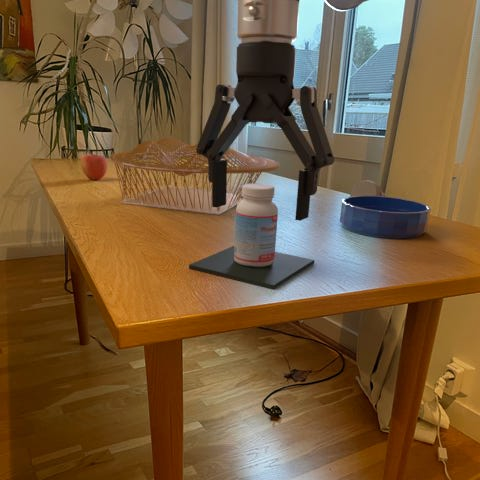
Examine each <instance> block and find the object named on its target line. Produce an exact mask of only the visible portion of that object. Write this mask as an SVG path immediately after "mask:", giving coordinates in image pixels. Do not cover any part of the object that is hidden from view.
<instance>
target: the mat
mask: <svg viewBox="0 0 480 480" xmlns="http://www.w3.org/2000/svg"><path fill="white" fill-rule="evenodd" d="M234 247H235V245H232V246H230V247H228V248H225V249H223V250H220V251H218V252H215V253H213V254H211V255H209V256H206V257H204V258H202V259H199V260H196V261H194V262H192V263H189V264H188V269H190V270H195V271H198V272H203V273H207V274H209V275H210V274H211V275H214V276H219V277H222V278H226V279H230V280H235V281H240V282H243V283H247V284H251V285H254V286H258V287H262V288H265V289H266V288H267V289H270V290H275V289H276V288H278V287H279V286H281V285H283V284H284V283H286V282H287V281H289V280H290V279H292V278H294V277H295V276H297V275H298V274H300V273H301V272H303V271H305V270H306V269H307V268H309V267H311V266H313V265H314V264H315V259H312V258H307V257H304V256H298V255H293V254H288V253H282V252H278V251H275V257H274V262H273V263H272V264H271V265H269V266H265V267H251V266H244V265H240V264H238V263H237V262H236V261H235V260H234ZM296 274H297V275H296ZM293 276H294V277H293Z"/></svg>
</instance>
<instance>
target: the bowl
mask: <svg viewBox="0 0 480 480" xmlns="http://www.w3.org/2000/svg"><path fill="white" fill-rule="evenodd" d="M431 210H432V209H431V207H430V206H429V205H427V204H425V203H424V202H419V201H417V200H411V199H407V198H400V197H392V196H386V197H383V196H352V197H350V196H347V197H344V198H342V201H341V208H340V216H339V223H341V224H340V225H341V227H342V228H343V227H344V228H343V229H344V230H347V231H349V232H352V233H355V234H358V235H363V236H367V237H372V238H378V239H379V238H380V239H392V240H393V239H394V240H395V239H396V240H405V239H414V238H419V237H421V236H422V235H423V234H424V233H425V232H426V231H427V229H428V225H429V219H430V216H431Z"/></svg>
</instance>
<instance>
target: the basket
mask: <svg viewBox="0 0 480 480" xmlns="http://www.w3.org/2000/svg"><path fill="white" fill-rule="evenodd" d="M197 146H198V143H197V144H194V145H191V144H188V143H185V142H182V141H180V140H178V139H175V138H171V137H165V138H161V139H158V140H157V141H153V140H144V141H142V142H141V143H139V144H137V146H135V147H134V148H133V149H132V150H127V151H121V152H120V151H119V152H116V153H115V152H114V153H112V154H110V155H109V159H110V161H111V162H112V163H114V167H115V170H116V176H117V179H118V184H119V188H120V193H121V199H122V201H121V204H126V205H134V206H141V207H142V206H143V207H149V208H150V207H151V208H159V209H165V210H166V209H167V210H175V211H184V212H193V213H198V214H199V213H200V214H208V215H214V216H215V215H216V216H220V215H222V214H223V213H226V212H228V211H229V210H231V209H233V208H235V207H237V205H238V203H239V202H241V201H242V200H243V199H244V197H243V196H242V195H243V194H242V186H243V185H244V184H256V182H257V180H258V179H259V177H260V176H261V174H262V173H266V172H273V171H276V170H278V169H279V168H280V166H281V163H280V162H279V161H276V160H273V159H270V158H265V157H260V156H253V155H247V154H245V152H244V153H243V152H241V151H239V150H235V149H234V148H231V147H229V148H228V150H227V151H226V153H225V154H224V155H223V157H224V158H222V159H221V160H227V175H229V176H228V178H227V184H228V183H229V188H231V189H230V192H229V193H228V192H226V205H223V206H220V207H217V208H216V207H212V184H211V183H210V182H209V181H208V159H207V158H206V157H205V156H203V155H201V154H200V155H199V154H198V153H197V151H196V148H197ZM143 156H144V157H143ZM150 156H151V157H150ZM186 157H187V158H186ZM228 163H229V164H228ZM139 170H140V172H141V173H140V172H139ZM145 172H146V173H147V175H146V173H145ZM150 172H151V174H152V176H151V175H150ZM140 174H141V175H140ZM197 174H199V175H198V179H197ZM201 174H202V175H201ZM232 174H236V177H235V180H234V182H233V185H232V177H231V176H232ZM239 174H241V175H240V176H239ZM247 174H248V175H247ZM147 176H148V177H147ZM161 176H162V177H161ZM179 176H180V177H181V178H180V179H181V180H180V181H181V187H179V186H178V181H177V180H178V177H179ZM190 176H191V179H190ZM201 176H202V180H201V179H200V178H201ZM238 176H239V178H238ZM152 177H153V179H152ZM186 177H188V178H187V179H188V180H186ZM148 178H149V179H148ZM172 178H173V180H174V185H172ZM193 178H194V183H193V187H191V184H192V180H193ZM162 179H163V181H162ZM237 179H238V181H237ZM242 179H243V180H242ZM144 180H145V181H144ZM153 180H154V182H155V184H156V186H157V187H155V185H154V182H153ZM200 180H201V181H202V182H201V183H202V184H201V189H199V187H198V186H199V182H200ZM229 180H230V181H229ZM236 181H237V184H236ZM241 181H242V182H241ZM144 182H146V184H147V186H148V188H149V191H148V189H147V187H146V185H145V183H144ZM140 183H141V184H140ZM163 183H164V187H163ZM240 183H241V184H240ZM210 184H211V185H210ZM235 184H236V187H235V189H234V186H235ZM239 185H240V186H239ZM138 186H139V187H138ZM205 186H206V190H205ZM231 186H232V187H231ZM142 187H143V188H142ZM134 188H135V189H136V193H135V190H134ZM139 188H140V189H139ZM156 188H157V190H156ZM233 189H234V191H233ZM140 190H141V192H142V194H141V192H140ZM232 192H233V193H232ZM128 193H129V194H128ZM129 195H130V197H129ZM132 195H133V197H132Z"/></svg>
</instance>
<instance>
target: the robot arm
mask: <svg viewBox="0 0 480 480" xmlns="http://www.w3.org/2000/svg"><path fill="white" fill-rule="evenodd" d="M368 1H369V0H324V2H325V4H327V6H328V7H330V8H331V9H333V10H335V11H338V12H347V11H351V10H354V9H356V8H358V7H359V6H360V5H362V4H363V3H365V2H368ZM299 10H300V0H237V32H236V33H237V36H236V37H237V38H238V39H239V40H241V43H239V44H237V45H238V46H236V60H235V61H236V65H235V67H236V69H235V74H236V77H237V82H236V86H235V87H234V86H232V85H230V84H217V85H216V87H215V92H214V94H215V95H214V102H213V105H212V108H211V110H210V112H209V115H208V118H207V121H206V123H205V126H204V128H203V130H202V133H201V136H200V138H199V141H198V143H197V144H198V146H197V148H196V150H195V151H197V153H198V154H199V155H200V154H201V155H203V156H205V157H206V158H207V159H208V164H207V166H208V173H207V175H208V177H207V180H208V183H209V182H210V184H211V185H212V187H211V191H212V207H216V208H217V207H220V206H223V205H226V193H227V187H228V183H227V181H228V174H227V167H228V166H227V160H228V159H227V160H225V159H224V160H221V159H223V158H224V157H223V155H224V154H225V153H226V151H227V150H228V148H231V145H233V143H234V142H235V141H236V139H237V138H238V136H239V135H240V134H241V132H242V131H243V130H244V129H245V127H247V125H248V124H250V123H262V124H263V123H264V124H276V125H277V127H278V128H280V129H281V131H282V132H283V134H284V136H285V137H286V139H287V140H288V142H289V144H290V145H291V147H292V148H293V151H294V153H296V155H297V157H298V158H299V160H300V161H301V163H302V165H303V166H304V168H303V169H299V170H298V180H297V193H296V194H297V195H296V205H295V217H294V219H295V221H300V222H301V221H304V220H305V219H308V218H309V213H310V202H311V196H314V195H316V193H317V191H318V183H319V173H320V170H321V169H322V168H325V167H328V166H332V165H333V164H334V163H335V157H334V153H333V151H332V148H331V145H330V142H329V139H328V136H327V133H326V130H325V129H326V128H325V127H324V124H323V123H324V122H323V120H322V118H321V114H320V112H319V108H318V96H317V95H318V94H317V93H318V91H317V88H316V87H315V86H311V85H303V86H302V87H299V88H295V86H294V79H295V74H296V73H295V72H296V58H297V48H296V46H295V45H293V42H295V41H296V40H297V39H298V31H299V13H300V11H299ZM234 101H236V102H237V104H238V106H237V108H236V109H235V110H234V112H233V113H232V115H230V116H231V117H230V120H229V122H228V123H227V124H226V126H225V127H224V128H223V130H222V127H223V126H224V123H225V121H226V119H227V116H228V115H229V114H228V113H229V111H230V108H231V105H232V103H233V102H234ZM294 101H296V104H297V105H298V106H299V107H300V112H301V115H302V117H303V121H304V123H305V127H306V130H307V132H308V136H309V138H310V141H311V144H310V142H309V141H308V139H307V137H306V136H305V134H304V133H303V131H302V129H301V128H300V126H299V124H298V123H297V120H296V119H297V118H296V117H295V115H294V114H293V112H292V110H291V109H290V107H291V105H292V104H293V103H294ZM311 145H312V146H311Z"/></svg>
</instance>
